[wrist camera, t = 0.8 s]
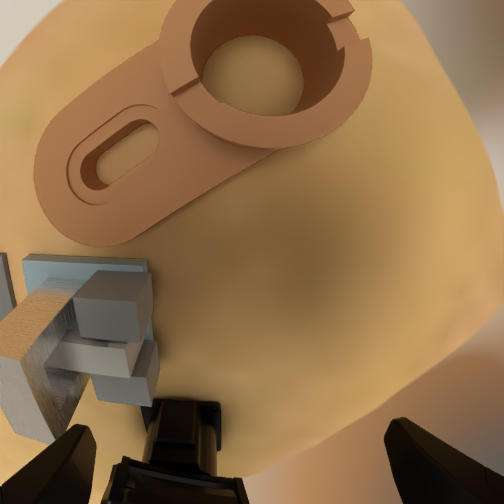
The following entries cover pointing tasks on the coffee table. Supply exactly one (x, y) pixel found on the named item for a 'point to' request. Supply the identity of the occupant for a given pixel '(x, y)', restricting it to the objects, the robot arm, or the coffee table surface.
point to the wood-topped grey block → (39, 362)
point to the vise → (105, 324)
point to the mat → (5, 289)
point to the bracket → (193, 114)
